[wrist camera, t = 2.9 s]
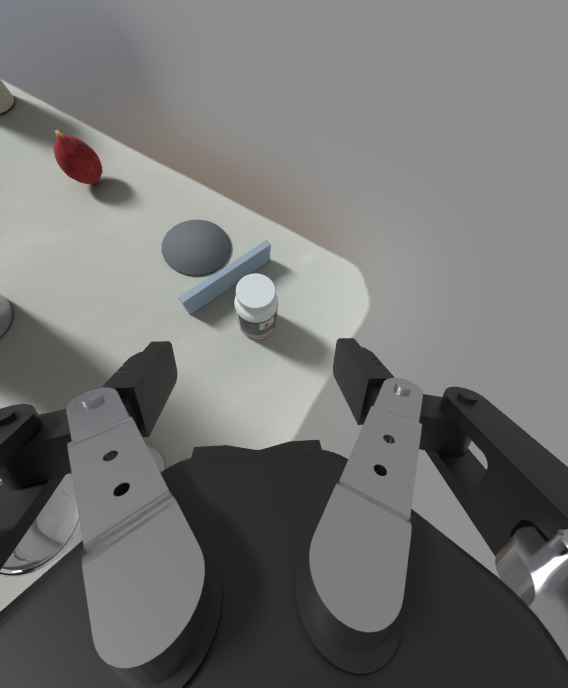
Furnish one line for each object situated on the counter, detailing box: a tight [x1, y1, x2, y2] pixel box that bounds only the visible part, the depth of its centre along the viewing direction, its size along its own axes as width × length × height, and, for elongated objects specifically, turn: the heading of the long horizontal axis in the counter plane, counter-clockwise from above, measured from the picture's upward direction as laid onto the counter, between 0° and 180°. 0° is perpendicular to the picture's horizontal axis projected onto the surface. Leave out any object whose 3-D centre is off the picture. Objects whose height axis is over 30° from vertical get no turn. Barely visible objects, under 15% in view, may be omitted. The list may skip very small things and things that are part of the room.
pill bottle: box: [234, 274, 278, 339], centre depth 33 cm, size 6×6×10 cm
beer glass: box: [0, 445, 165, 577], centre depth 23 cm, size 7×7×15 cm
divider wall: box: [178, 240, 271, 315], centre depth 37 cm, size 16×1×4 cm, turn 132°
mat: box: [162, 220, 230, 276], centre depth 40 cm, size 11×11×1 cm
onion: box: [54, 130, 102, 184], centre depth 39 cm, size 6×6×8 cm
